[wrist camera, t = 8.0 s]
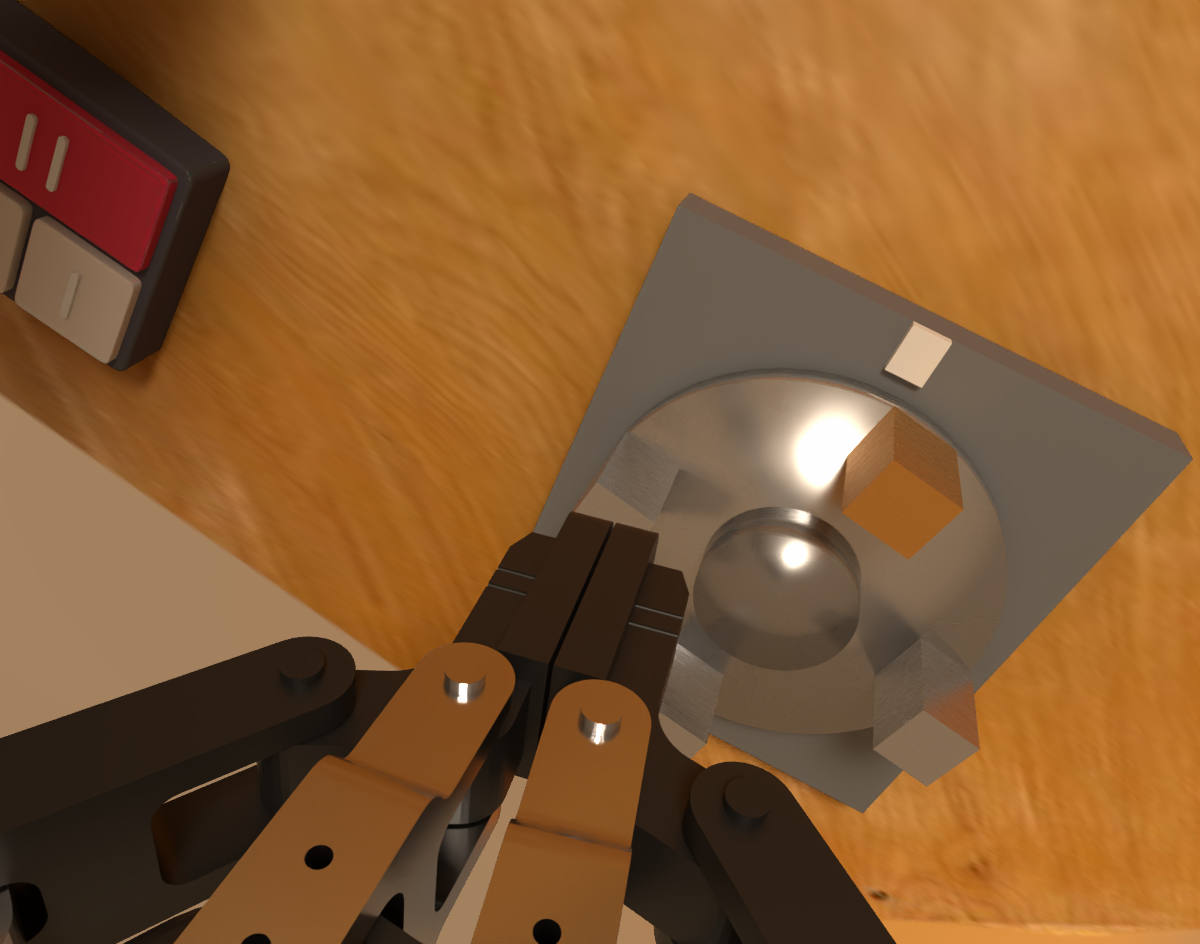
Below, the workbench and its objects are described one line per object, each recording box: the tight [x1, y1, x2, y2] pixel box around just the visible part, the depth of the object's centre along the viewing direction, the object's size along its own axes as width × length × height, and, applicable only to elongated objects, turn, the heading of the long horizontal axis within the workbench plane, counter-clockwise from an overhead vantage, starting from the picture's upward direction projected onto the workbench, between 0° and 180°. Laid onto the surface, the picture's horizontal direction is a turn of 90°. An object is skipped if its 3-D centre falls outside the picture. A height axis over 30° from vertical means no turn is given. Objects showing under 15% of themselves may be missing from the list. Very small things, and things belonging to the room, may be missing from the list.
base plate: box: [533, 193, 1193, 813], centre depth 37 cm, size 19×21×2 cm
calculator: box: [0, 0, 230, 371], centre depth 38 cm, size 11×4×15 cm
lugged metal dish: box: [573, 368, 1008, 786], centre depth 33 cm, size 16×16×5 cm
